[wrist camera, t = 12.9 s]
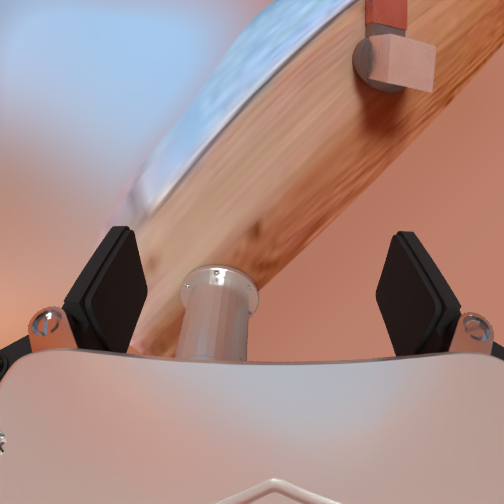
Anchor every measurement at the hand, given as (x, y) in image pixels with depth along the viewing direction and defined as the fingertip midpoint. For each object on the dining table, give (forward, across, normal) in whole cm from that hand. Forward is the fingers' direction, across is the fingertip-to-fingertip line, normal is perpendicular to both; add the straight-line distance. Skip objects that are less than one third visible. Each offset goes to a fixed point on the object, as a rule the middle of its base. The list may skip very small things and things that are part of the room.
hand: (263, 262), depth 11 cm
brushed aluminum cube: (+26, -14, -8) cm, 30 cm away
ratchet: (+28, -14, -11) cm, 34 cm away
